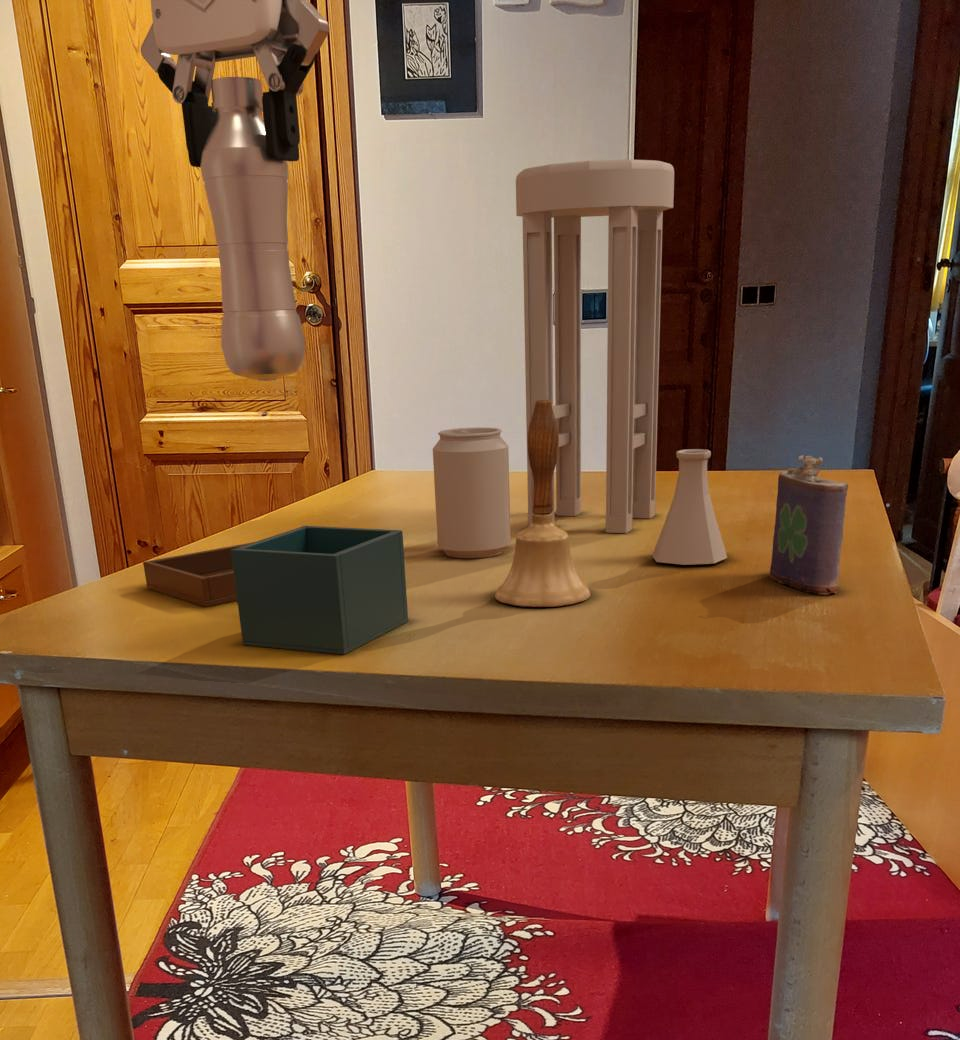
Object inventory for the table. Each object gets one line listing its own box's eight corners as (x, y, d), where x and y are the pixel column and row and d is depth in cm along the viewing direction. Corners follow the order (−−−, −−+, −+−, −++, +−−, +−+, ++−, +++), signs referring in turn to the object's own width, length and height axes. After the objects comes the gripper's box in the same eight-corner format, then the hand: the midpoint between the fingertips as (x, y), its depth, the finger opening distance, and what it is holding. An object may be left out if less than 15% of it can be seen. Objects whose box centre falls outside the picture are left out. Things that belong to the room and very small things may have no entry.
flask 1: (731, 553, 115) (737, 446, 111) (722, 568, 109) (728, 456, 104) (658, 551, 117) (661, 446, 113) (645, 566, 111) (647, 456, 107)
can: (512, 558, 117) (509, 431, 111) (437, 561, 117) (430, 434, 111) (509, 543, 123) (506, 423, 118) (438, 546, 123) (432, 426, 118)
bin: (344, 654, 87) (335, 555, 84) (242, 644, 91) (230, 549, 88) (408, 621, 96) (402, 530, 92) (312, 613, 99) (304, 525, 96)
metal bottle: (321, 376, 95) (296, 84, 86) (285, 382, 89) (255, 69, 80) (249, 378, 96) (218, 91, 88) (209, 384, 91) (172, 77, 82)
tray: (205, 607, 103) (201, 578, 102) (146, 588, 110) (142, 561, 109) (355, 575, 112) (353, 549, 111) (291, 560, 120) (289, 535, 119)
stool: (504, 532, 130) (494, 167, 115) (552, 508, 142) (549, 178, 127) (639, 537, 124) (647, 154, 109) (676, 512, 137) (688, 167, 121)
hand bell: (561, 581, 106) (560, 394, 100) (608, 599, 100) (610, 399, 93) (479, 593, 103) (472, 401, 96) (521, 613, 97) (517, 407, 90)
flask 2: (844, 593, 98) (856, 460, 94) (812, 597, 98) (823, 463, 93) (789, 572, 106) (798, 448, 102) (760, 575, 106) (767, 451, 101)
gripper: (75, -137, 79) (119, 169, 87) (288, -189, 72) (315, 149, 80) (149, -108, 85) (184, 176, 93) (352, -153, 78) (371, 158, 86)
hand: (244, 161), depth 86 cm, fingers closed on metal bottle, 6 cm apart
